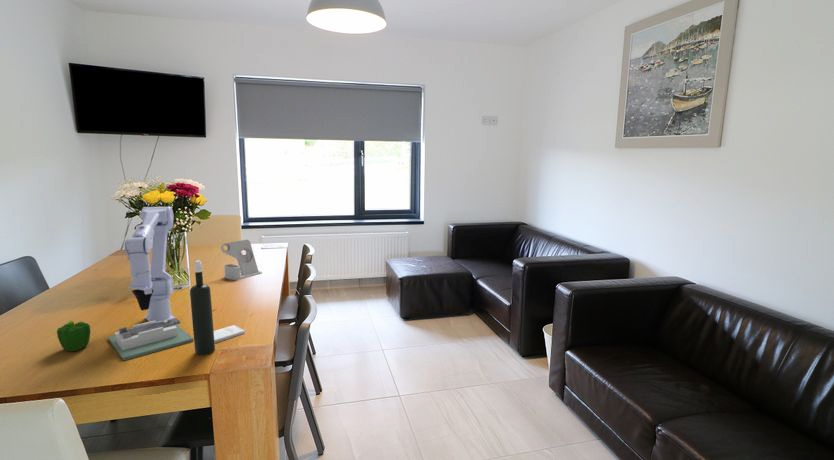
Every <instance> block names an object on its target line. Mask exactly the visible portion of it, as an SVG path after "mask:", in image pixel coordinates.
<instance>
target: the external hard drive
mask: <svg viewBox="0 0 834 460" xmlns="http://www.w3.org/2000/svg"><path fill="white" fill-rule="evenodd" d="M244 334H246V332H245V330H244V329H242V328H240V327H239V326H237V325H235V324H233V325H230V326H225V327H223V328H220V329H216V330H214V342H215V344H217V343H220V342H223V341H226V340H228V339H232V338H235V337H238V336H240V335H244Z"/></svg>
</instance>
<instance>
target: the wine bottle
mask: <svg viewBox="0 0 834 460" xmlns="http://www.w3.org/2000/svg"><path fill="white" fill-rule="evenodd" d="M202 264H203V263H202V260H195V261H194V262H193V267H194V276H195V284H194V285H193V286H192V287H191V288H190V289H189V296H190V297H189V299H190V307H191V311H190V312H191V320H192V321H191V322H192V332H193V346H194V354H195V355H197V356H206V355H210V354H212V353H214V352H215V351H216V346H215V345H216V343H215V342H214V331H215V330H214V319H213V317H214V316H213V306H212V305H213V304H212V294H211V293H212V292H211V287H210V286H209V285H208V284H205V283H204V279H203V265H202Z"/></svg>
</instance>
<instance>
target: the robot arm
mask: <svg viewBox="0 0 834 460" xmlns="http://www.w3.org/2000/svg"><path fill="white" fill-rule="evenodd" d="M140 217H141V220H142V223H141V224H139V225H138V226H136V229H135V230H134V232H133V234H132V235H131V237H128V238H127V239H125V241H124V251H125V254H126V258H127V260H128V261H129V268H130V278H131V284H130V285H128V286H127V288H128V289H129V290H131V289H133V290H131V293H133V295H134V297H135V299H136V300H137V303H138V307H139V309H140V310H141V311H142V312H143V311H146V314H147V315H145V316H144V319H146V320H147V322H150V321H156V322H161V321H165V320H171V319H175V318H176V317H175V316H174V315H172V312H171V311H172V310H171V303H170V300H171V299H170V296H171V295H172V294H173V292H174V278H173V275H172V274H169V273H168V272H167V271H166V264H167V263H166V262H167V261H166V260H167V244H168V243H167V242H168V236H169V235H168V233H169V231H170V230H173V226H174V218H175V217H174V210H173V208H172V207H171V206H143V207H142V208H141V211H140ZM151 246H152V247H151ZM151 248H152V250H151ZM150 253H151V260H150ZM150 261H151V262H150Z"/></svg>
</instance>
